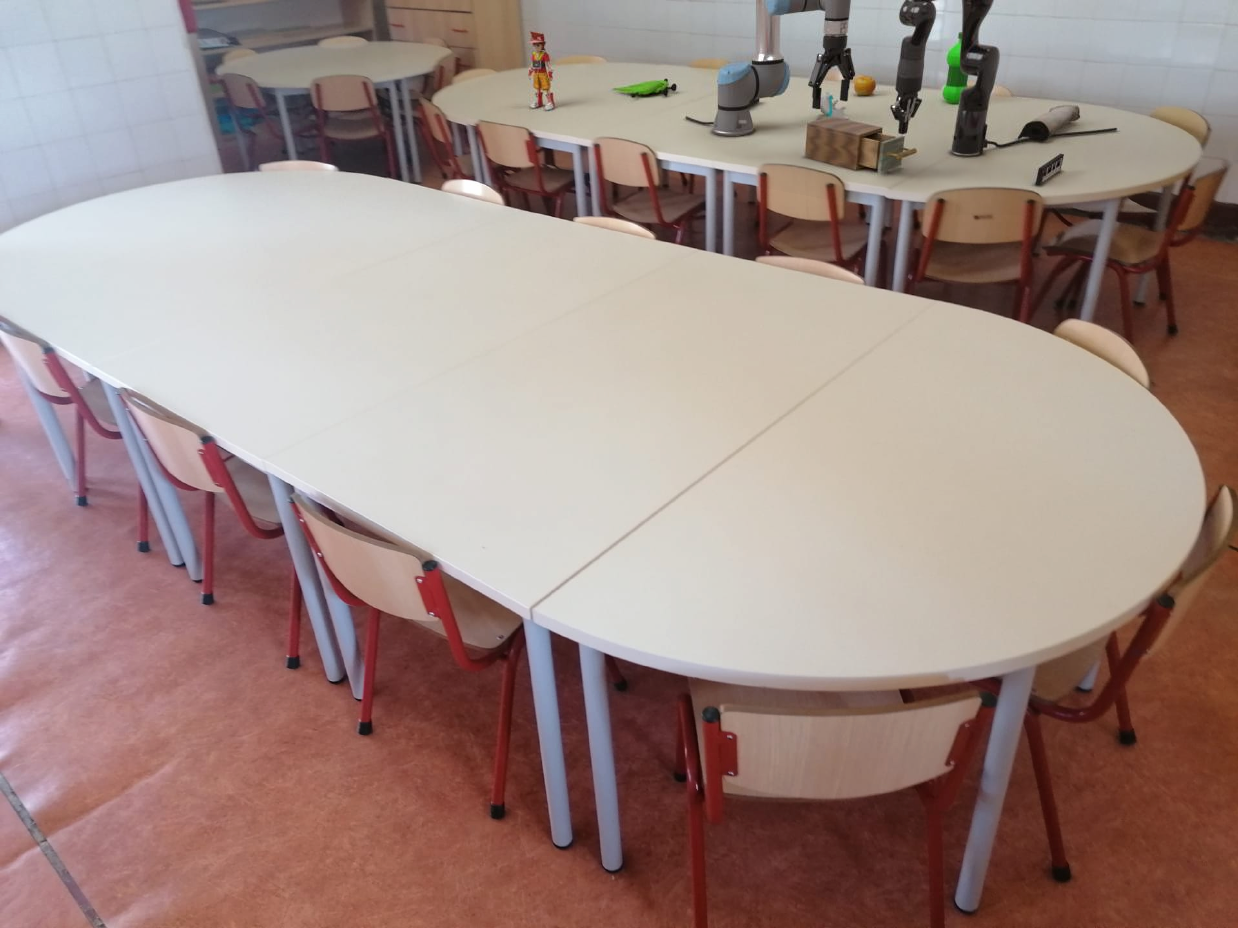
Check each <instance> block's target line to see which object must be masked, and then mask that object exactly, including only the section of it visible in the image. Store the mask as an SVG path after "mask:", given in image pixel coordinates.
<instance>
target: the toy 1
mask: <svg viewBox="0 0 1238 928" xmlns="http://www.w3.org/2000/svg"><path fill="white" fill-rule="evenodd" d="M529 33H530V35H531V36H528V37H527V38H528V39H529V40H528V41H527V43H529V44H530V43H531V44H532V48H533V50H534V51H533V52H532V55H531V58H530V59H531V63H530V66H528V74H527V75H528V76H527V77H528V79H529V80H531V75H532V74H533V84H532V85H533V86H532V87H533V88H534V89H535V90H536V92H534V95H535V97H536V100H535V101H533V102H531V105H530V108H531V109H535V108H538V107H542V106H544V101H543V100H544V99H543V95H544V92H546V94H545V97H546V99H547V103H546V104H545V106H544V110H546V111H549V110H553V109H554V107H555V106H556V105H555V99H554V92H551V91H550V90H551V86H552V84H551V82H552V81H553V80H554V77H553V73H554V71H555V70H554V69H552V68H551V63H550V61H551V59H550V58H551V57H550V54H549V53H548V52H547V50H546V48H545V46H546V44H547V41H545V35H544V33H543V32H542V33H539V32H535V31H529Z"/></svg>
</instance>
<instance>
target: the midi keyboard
mask: <svg viewBox="0 0 1238 928" xmlns="http://www.w3.org/2000/svg"><path fill="white" fill-rule="evenodd" d="M1064 157H1065V153H1059V154H1058V155H1056V156H1055V157H1052V159H1051V160H1049V161H1047V162H1045V164H1042V165H1041V166H1039V167H1038V169H1037V175H1036V179H1035V186H1040V185H1042V183H1044V182H1045V181H1047V180H1048V179H1049V178H1051V177H1052V176H1054V175H1055V174H1056V173H1058V172H1060V171H1061V170H1062V165H1063V161H1064Z"/></svg>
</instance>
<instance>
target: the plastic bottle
mask: <svg viewBox="0 0 1238 928" xmlns="http://www.w3.org/2000/svg"><path fill="white" fill-rule="evenodd" d="M961 38H962V31H959V32H958V36H957V39H958V42H957V43H956V44H954V45H953V46H952V47H951V48H950V49H949V50H948V52H947V54H946V63H947V64H948V69H947V70H948V71H947V76H946V77H947V78H946V84H945V85H944V87H943V90H942V97H943V99H944V100H945V101H946V102H947V103H948V104H959V100H960V93H961V90H962V89H963V88H965V87H969V85H968V79H969V75H966V74H963V73H962V71H961V69H960V48H961Z"/></svg>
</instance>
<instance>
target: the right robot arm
mask: <svg viewBox="0 0 1238 928" xmlns="http://www.w3.org/2000/svg"><path fill="white" fill-rule="evenodd" d="M994 1H995V0H961V15H962V16H961V32H962V38H961V48H960V69H961V71H962V73H963V74H966V75H968V76H972V77H977V78H976V82H975V83H974V84H973V85H968V87H965V88H963V89H962V90H961V93H960V100H959V103H958V106H957V113H956V120H955V126H954V132H953V134H952V145H951V149H950V153H951V154H953V155H955V156H958V157H959V156H960V157H975V156H979V155H983V154H984V149H987V148H988V145H993V146H995V148H1006V147H1010V146H1013V145H1017V144H1021V143H1026V142H1031V141H1032V140H1031V138H1029V137H1025V138H1021V139H1017V140H1014V141H1010V142H1007V143H1002V144H1001V143H998V142H997V141H992V140H989V139H987V138H986V136H987V131H988V124H987V117H988V113H989V105H990V100H991V95H992V92H993V90H994V87H995V84H996V78H997V74H998V70H999V65H1000V59H1001V52H1000V49H999V48H998V47H997V46H995V45H990V44H982V43H980V39H979V37H980V36H979V35H980V29H981V26H982V23H983V22H984V20H985V19H986V17H987V15H988V13H990V11H991V8H992V6H993V4H994ZM934 2H936V0H904V1H903V3H902V5H901V7H900V9H899V12H898V20H899V22H900V23H901V24H902V25H904V26H906V27H911V28H912V27H913V28H914V31H913V33H912V34H909V35H906V36H904V37H903V38H902V41H901V45H900V53H899V61H898V65H897V70H896V71H897V72H896V79H895V89H894V90H895V91H896V92H897V95H896V98H895V103H894V104H891V105H890V107H889V109H890V111H891V114H892V116H893V118H894V120H895V121H898V130H897V133H898V134H899V135H905V134H907V133H908V130H909V122H910V121H911V119H914V118H915V116H916V115H917V114H916V113H917V112H918V110H919V108H920V106H921V104H922V103H923V99H922V98H919V92H921V90H922V86H923V77H924V70H925V57H926V50H927V49H926V48H927V42H928V40H929V37H930V35H931V32H932V30H933V27H934V24H935V21H936V17H937V9H936V5H935V4H934ZM1116 131H1118V128H1117V127H1112V128H1111V127H1110V128H1103V129H1095V130H1084V131H1083V130H1081V131H1073V132H1071V131H1070V132H1061V133H1053V135H1052V136H1050V137H1049V138H1050V139H1051V138H1057V137H1067V136H1079V135H1093V134H1098V133H1109V132H1116ZM1049 138H1048V139H1049Z"/></svg>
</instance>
